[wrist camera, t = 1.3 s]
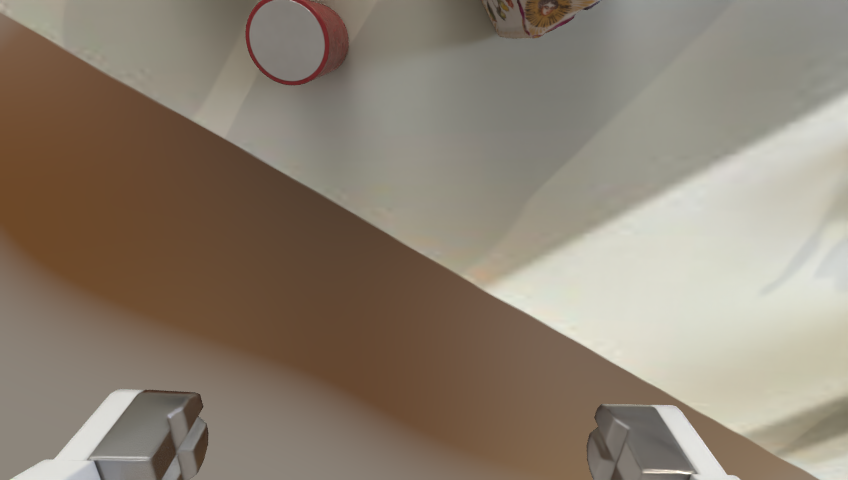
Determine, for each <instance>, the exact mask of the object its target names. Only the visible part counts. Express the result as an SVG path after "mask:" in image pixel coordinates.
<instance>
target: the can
mask: <svg viewBox="0 0 848 480" xmlns="http://www.w3.org/2000/svg"><path fill="white" fill-rule="evenodd" d="M246 44H247V48H248V51H249V53H250V56H251V58H252V60H253V61H254V63H255V64H256V66H257V67H258V68H259V69H260V71H262V72H263V73H264V74H265V75H266V76H267V77H269V78H270V79H272V80H274V81H276V82H278V83H281V84H285V85H301V84H305V83H307V82H309V81H312V80H314V79H316V78H318V77H320V76H323V75H325V74H327V73H329V72H332V71H333V70H335V69H336V68H338V67H339V66H340V65H341V64H342V62H343V61H344V59H345V57H346V54H347V51H348V44H349V40H348V33H347V30H346V27H345V25H344V23H343V21H342V19H341V18H340V17H339V15H338V14H337V13H336V12H335V11H333V10H332V9H331V8H329V7H327V6H325V5H323V4H319V3H316V2H313V1H309V0H262V1H260V2H259V3H258V4H257V5H256V6H255V7H254V9H253V10H252V12H251V13H250V15H249V18H248V20H247V25H246Z"/></svg>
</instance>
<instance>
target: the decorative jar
mask: <svg viewBox="0 0 848 480" xmlns="http://www.w3.org/2000/svg"><path fill="white" fill-rule="evenodd" d="M481 1H482V3H483V5H484V7H485V9H486V11H487V13H488V15H489V17H490V19H491V21H492V23H493V25H494V27H495V30H496V32H497V34H498V35H499V36H500V37H505V38H513V39H518V38H538V37H540V36H542V35H544V34H545V33H547V32H549V31H552V30H554V29H555V28H557V27H559V26H562V25H564V24H566V23H568V22H569V21H571V20H572V19H573V18H574V16H575V15H576V13H578V12H579V11H581V10H587V9H590V8H592V7H593V6H594V5H596V4H598V3H599V2H600V1H601V0H481Z"/></svg>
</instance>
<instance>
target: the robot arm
mask: <svg viewBox="0 0 848 480" xmlns="http://www.w3.org/2000/svg"><path fill="white" fill-rule="evenodd" d="M202 408H203V404H202V400H201V396H200V394H198V393H195V392H177V391H159V390H131V389H118V390H116V391H114V392H113V393H111V394H110V395H109V396H108V397H107V398H106V399H105V401H104V402H103V403H102V404H101V405H100V406H99V408H98V409H97V410H96V411H95V412H94V413H93V414H92V416H91V417H90V418H89V419H88V420H87V421H86V423H85V424H84V425H83V426H82V427H81V428H80V430H79V431H78V432H77V433H76V434H75V435H74V437H73V438H72V439H71V440H70V441H69V442H68V443H67V445H66V446H65V447H64V448H63V449H62V450H61V452H60V453H59V454H58V455H57V456H56V458H55V459H54V460H43V461H42V462H40V463H38V464H36V465H35V466H33V467H31V468H29V469H28V470H26V471H24V472H22V473H21V474H19V475H17V476H15V477H14V478H12V479H10V480H190V479H191V478H192V477H194V476H195V475H196V474H197V473H198V471H199V469H200V467H201V465H202V463H203V460H204V458H205V454H206V450H207V446H208V428H207V424H206V423H205V422H204V421H203V420H202V419H201V418H200V417H199V416H198V415H199V413H200V412H201V410H202ZM595 420H596V422H597V424H598V427H597V428H596V429H595V430H593V431H592V432H591V433H590V435H589V438H588V443H587V461H588V465H589V469H590V472H591V475H592V478H593V480H741V479H739V478H738V477H737V476H734V475H727V474H726V473H725V471H724V470H723V468H722V467H721V466H720V464H719V463H718V462H717V460H716V459H715V457H714V456H713V455H712V453H711V452H710V450H709V449H708V448H707V446H706V445H705V443H704V442H703V441H702V439H701V438H700V437H699V435H698V434H697V432H696V431H695V430H694V428H693V427H692V425H691V424H690V423H689V421H688V420H687V418H686V417H685V416H684V414H683V413H682V411H681V410H680V409H678V408H677V407H676V406H674V405H626V404H601V405H600V406H599V407H598V409H597V411H596V415H595Z"/></svg>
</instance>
